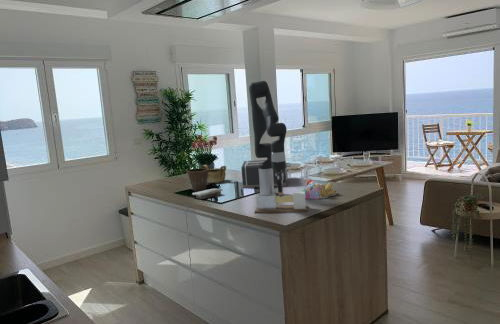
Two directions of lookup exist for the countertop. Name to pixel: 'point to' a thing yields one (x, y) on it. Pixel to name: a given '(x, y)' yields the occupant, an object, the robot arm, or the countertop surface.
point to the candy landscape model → (318, 190)
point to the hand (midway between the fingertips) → (280, 191)
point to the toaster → (257, 174)
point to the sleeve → (266, 202)
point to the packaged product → (207, 193)
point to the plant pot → (198, 178)
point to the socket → (299, 200)
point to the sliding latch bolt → (283, 197)
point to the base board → (282, 209)
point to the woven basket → (215, 174)
